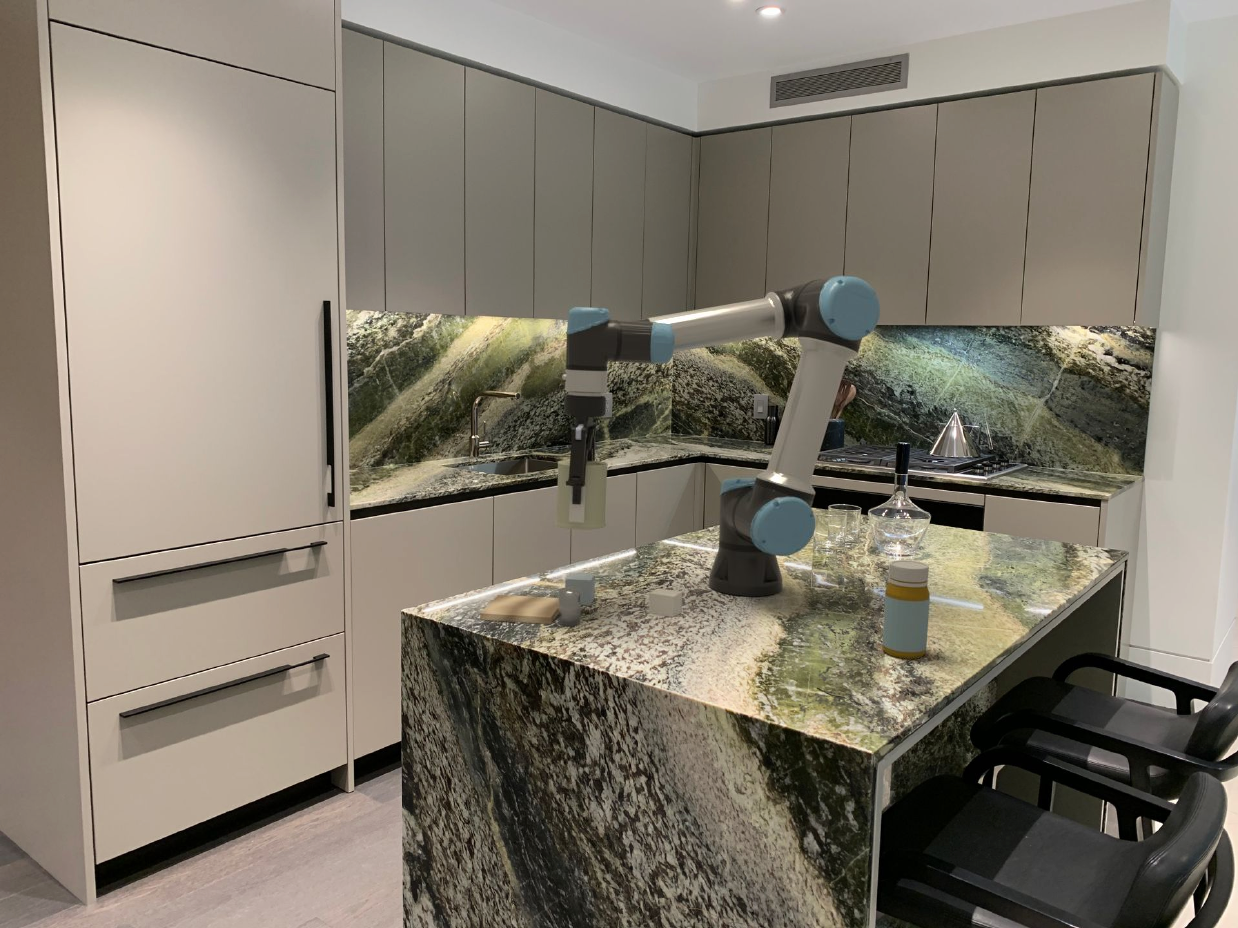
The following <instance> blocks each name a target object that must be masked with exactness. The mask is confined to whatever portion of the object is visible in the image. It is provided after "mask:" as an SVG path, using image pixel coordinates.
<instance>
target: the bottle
mask: <svg viewBox="0 0 1238 928" xmlns="http://www.w3.org/2000/svg"><path fill="white" fill-rule="evenodd" d="M929 569H930V567H929V564H926V563H925V562H920V561H915V560H906V559H905V560H904V559H903V560H901V559H900V560H892V561H890V562H889V568H888V571H889V572H888V583H887V586H886V589H885V594H884V608H883V611H884V612H883V626H882V645H881V646H882V650H883V651H884V652H885V653H886V654H887V655H889V656H891V657H894V658H900V659H907V660H911V659H912V660H913V659H919V658H921V657H923V656H924V655H925V654H926V652H927V647H928V645H927V644H928V629H929V628H928V627H929V626H928V625H929V616H930V615H929V614H930V613H929V611H930V590H929V588H928V583H929V581H928V579H929V572H930V571H929Z"/></svg>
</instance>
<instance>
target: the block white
mask: <svg viewBox="0 0 1238 928" xmlns="http://www.w3.org/2000/svg"><path fill="white" fill-rule="evenodd" d="M682 609H683V591H679V590H672V589H665V588H659V587H658V588H656V589H654V590H652V591H650V592H649V593H648V614H652V615H656V616H657V615H658V616H664V617H670V618H674V617H676V616H677V615H679V614H681V613H682V612H683V610H682Z"/></svg>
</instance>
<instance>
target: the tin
mask: <svg viewBox="0 0 1238 928" xmlns="http://www.w3.org/2000/svg"><path fill="white" fill-rule="evenodd" d="M557 598H558V615H557V624H558V625H560V626H563V627H565V626H566V627H575V626H579V625H580V624H581V606H582V605H581V590H580V589H578V588H573V587H566V588H565V587H560V588H558V595H557Z"/></svg>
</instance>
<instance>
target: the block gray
mask: <svg viewBox="0 0 1238 928" xmlns="http://www.w3.org/2000/svg"><path fill="white" fill-rule="evenodd" d="M595 578H596V574H595V573H582V572H581V573H576V572H569V573H568V575H567V576H566V577H565V579H564V588H566V587H573V588H578V589H580V590H581V606H592V604H593V602H594V600H595V586H596V579H595Z"/></svg>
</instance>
